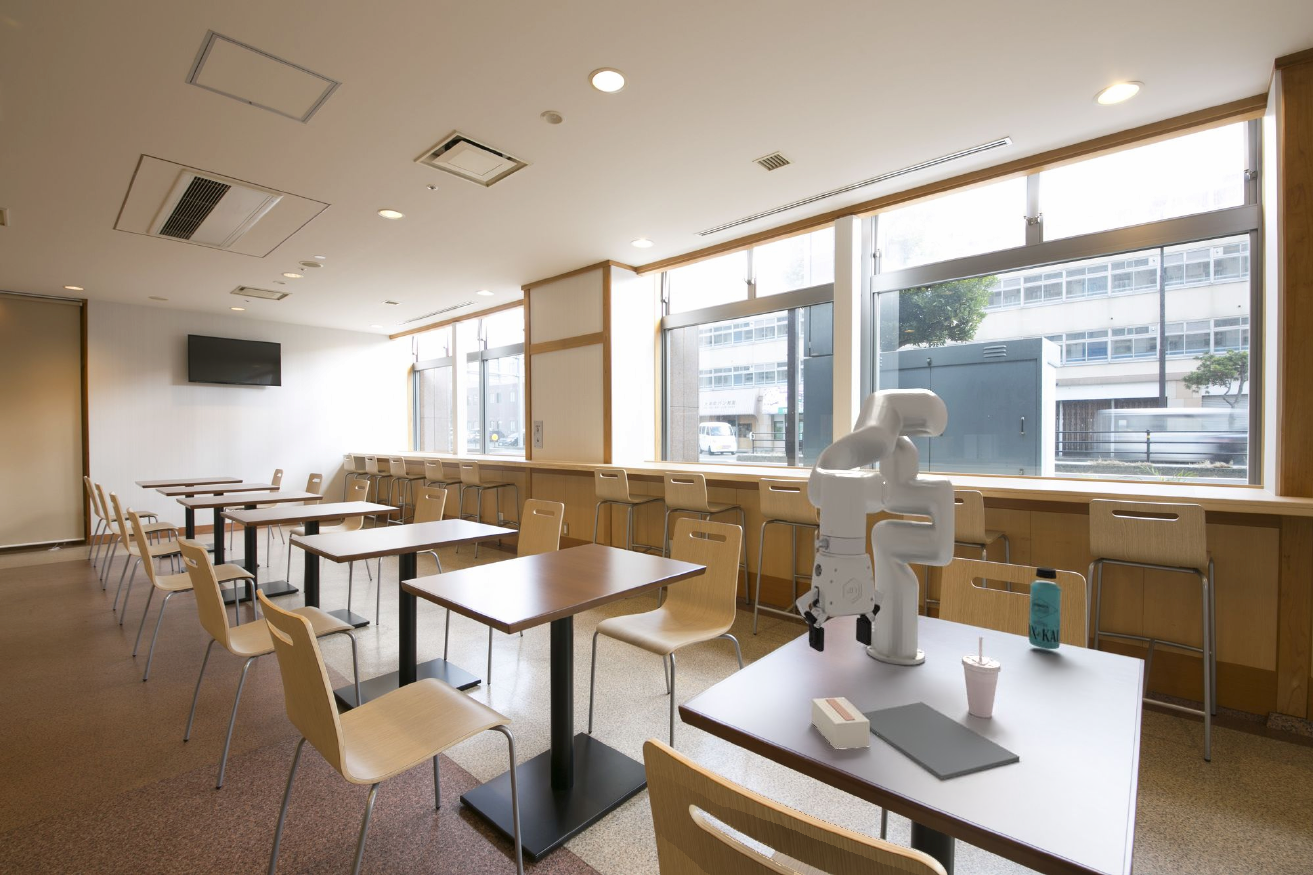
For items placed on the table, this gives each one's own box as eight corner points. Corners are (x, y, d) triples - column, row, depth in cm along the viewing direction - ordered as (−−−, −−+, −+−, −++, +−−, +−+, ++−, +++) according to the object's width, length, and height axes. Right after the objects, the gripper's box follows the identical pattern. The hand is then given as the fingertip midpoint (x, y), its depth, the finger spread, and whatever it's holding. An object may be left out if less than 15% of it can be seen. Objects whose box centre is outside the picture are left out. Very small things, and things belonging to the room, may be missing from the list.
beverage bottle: (1028, 643, 146) (1030, 563, 146) (1061, 649, 142) (1062, 567, 142) (1027, 651, 141) (1028, 568, 141) (1060, 658, 137) (1062, 572, 137)
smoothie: (995, 708, 111) (997, 634, 111) (1003, 724, 105) (1005, 645, 105) (958, 702, 113) (959, 630, 113) (963, 717, 107) (965, 641, 107)
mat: (852, 718, 106) (852, 714, 106) (921, 705, 112) (921, 702, 112) (941, 779, 87) (941, 775, 87) (1019, 760, 93) (1019, 756, 93)
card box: (811, 724, 104) (812, 698, 104) (843, 722, 105) (843, 696, 105) (835, 751, 95) (835, 722, 95) (869, 748, 96) (869, 720, 96)
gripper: (812, 552, 93) (810, 659, 93) (898, 547, 99) (896, 648, 99) (786, 543, 100) (784, 644, 100) (868, 540, 107) (866, 634, 106)
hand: (840, 646), depth 100 cm, fingers open, 9 cm apart
